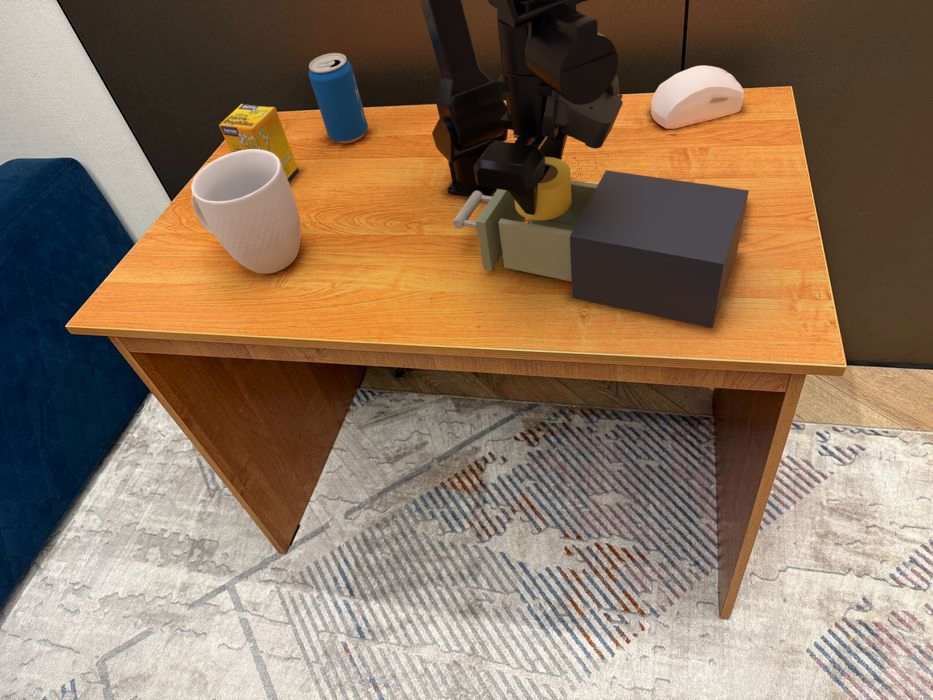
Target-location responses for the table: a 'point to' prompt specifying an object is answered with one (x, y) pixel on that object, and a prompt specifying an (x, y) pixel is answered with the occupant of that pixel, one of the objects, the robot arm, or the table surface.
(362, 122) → the beverage can
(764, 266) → the table surface
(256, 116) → the supplement box
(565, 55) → the robot arm
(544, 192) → the tape
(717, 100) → the computer mouse
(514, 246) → the drawer
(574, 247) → the cabinet
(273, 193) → the mug
